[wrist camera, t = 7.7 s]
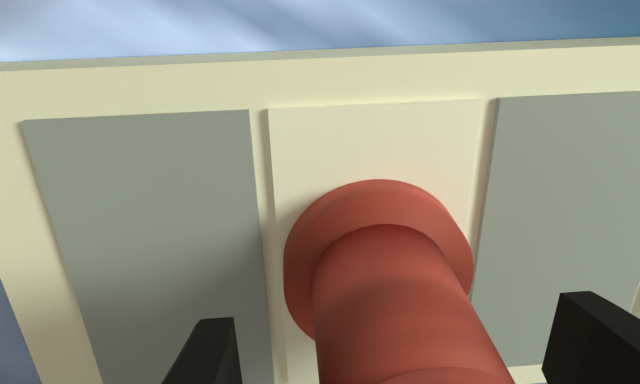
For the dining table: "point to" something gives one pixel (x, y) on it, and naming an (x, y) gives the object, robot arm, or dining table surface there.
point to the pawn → (387, 289)
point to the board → (305, 190)
